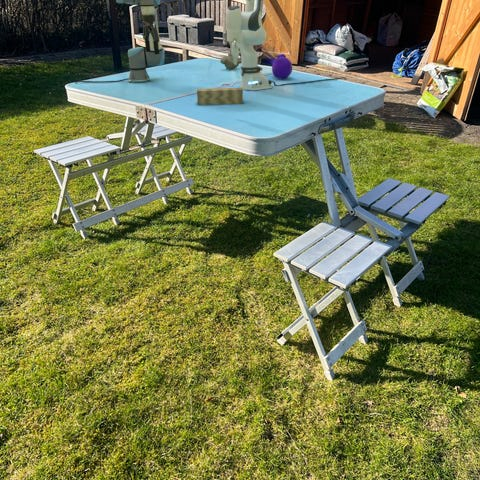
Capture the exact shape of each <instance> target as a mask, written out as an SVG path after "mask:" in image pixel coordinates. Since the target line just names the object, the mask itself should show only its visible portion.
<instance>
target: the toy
mask: <svg viewBox="0 0 480 480" xmlns="http://www.w3.org/2000/svg"><path fill="white" fill-rule="evenodd" d="M260 60H261V61H262V62H264V63H266V64H268V65H270V66H271V72H272V75H273V76H274V77H275V78H276V79H279V80H285V79H287V78H289V77H290V75H291V74H292V72H293V63H292V62H291V61H290V59H289V58H287V57H286V55H285V54H284V53H280V54H278V55H277V56H276V58H268V57H266V58H265V57H263V58H262V57H261V58H260Z"/></svg>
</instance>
